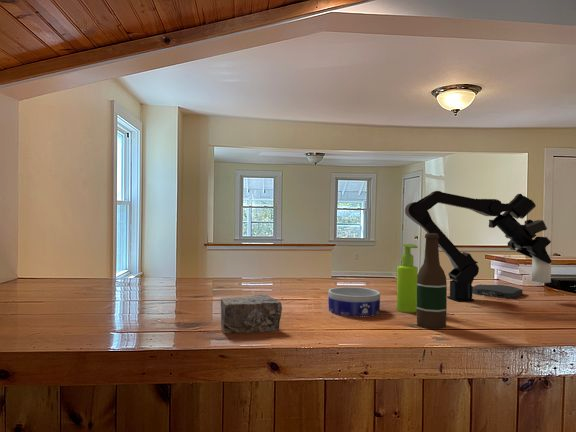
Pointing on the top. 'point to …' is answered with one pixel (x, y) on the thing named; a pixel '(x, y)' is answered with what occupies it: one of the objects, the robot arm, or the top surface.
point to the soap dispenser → (407, 282)
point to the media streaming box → (498, 291)
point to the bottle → (541, 270)
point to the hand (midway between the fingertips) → (545, 261)
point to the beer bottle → (431, 288)
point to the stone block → (250, 314)
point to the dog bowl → (354, 301)
